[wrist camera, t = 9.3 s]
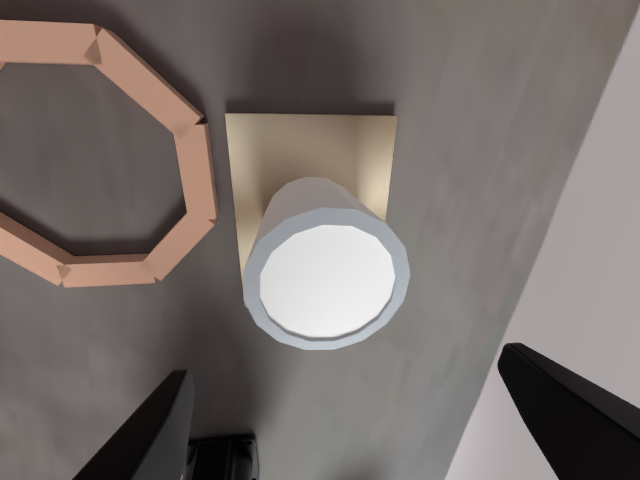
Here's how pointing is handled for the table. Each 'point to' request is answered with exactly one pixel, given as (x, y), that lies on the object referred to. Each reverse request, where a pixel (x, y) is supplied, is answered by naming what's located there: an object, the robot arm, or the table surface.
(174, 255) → the ring coaster
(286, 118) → the beige flat pad
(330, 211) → the white cylinder
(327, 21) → the table surface
